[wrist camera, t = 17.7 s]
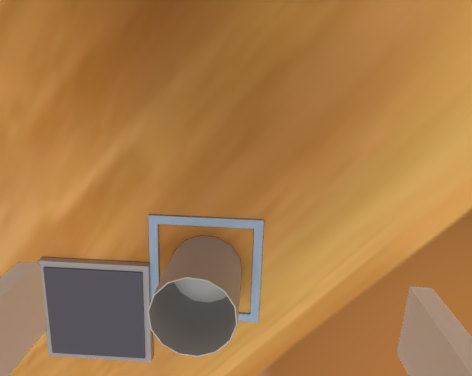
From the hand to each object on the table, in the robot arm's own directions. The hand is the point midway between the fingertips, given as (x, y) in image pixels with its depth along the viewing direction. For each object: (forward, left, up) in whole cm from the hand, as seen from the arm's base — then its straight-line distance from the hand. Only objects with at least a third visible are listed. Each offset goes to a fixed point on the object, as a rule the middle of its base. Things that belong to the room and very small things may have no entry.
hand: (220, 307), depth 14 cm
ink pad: (+20, -17, -29) cm, 39 cm away
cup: (+13, -4, -29) cm, 33 cm away
